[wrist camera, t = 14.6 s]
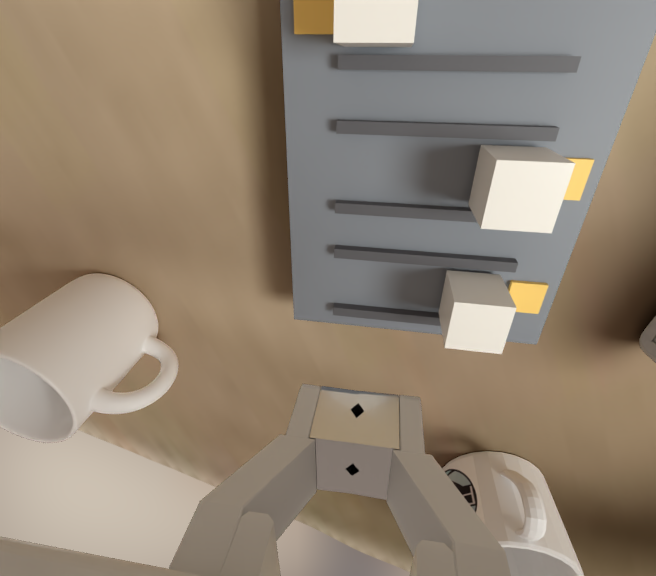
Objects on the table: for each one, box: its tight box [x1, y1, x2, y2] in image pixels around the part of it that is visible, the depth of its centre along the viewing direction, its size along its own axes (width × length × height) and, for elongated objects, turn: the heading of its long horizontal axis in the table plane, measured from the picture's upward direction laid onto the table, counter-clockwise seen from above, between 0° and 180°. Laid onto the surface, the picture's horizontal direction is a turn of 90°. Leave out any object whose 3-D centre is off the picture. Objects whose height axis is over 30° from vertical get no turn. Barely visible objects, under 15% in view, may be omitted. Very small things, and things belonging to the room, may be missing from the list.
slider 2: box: [439, 270, 517, 354], centre depth 21 cm, size 3×3×4 cm
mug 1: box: [0, 273, 179, 443], centre depth 28 cm, size 12×8×10 cm
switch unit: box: [280, 0, 656, 344], centre depth 21 cm, size 16×21×4 cm
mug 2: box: [442, 451, 584, 576], centre depth 32 cm, size 13×10×8 cm
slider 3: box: [468, 145, 576, 233], centre depth 17 cm, size 3×3×4 cm
